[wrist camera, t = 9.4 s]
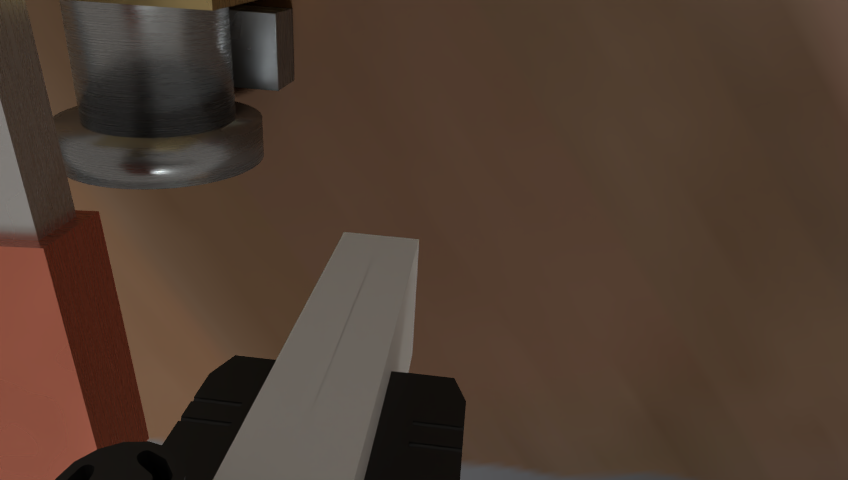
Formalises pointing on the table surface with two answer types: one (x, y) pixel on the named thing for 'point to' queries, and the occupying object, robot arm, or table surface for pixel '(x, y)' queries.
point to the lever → (52, 290)
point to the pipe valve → (168, 89)
